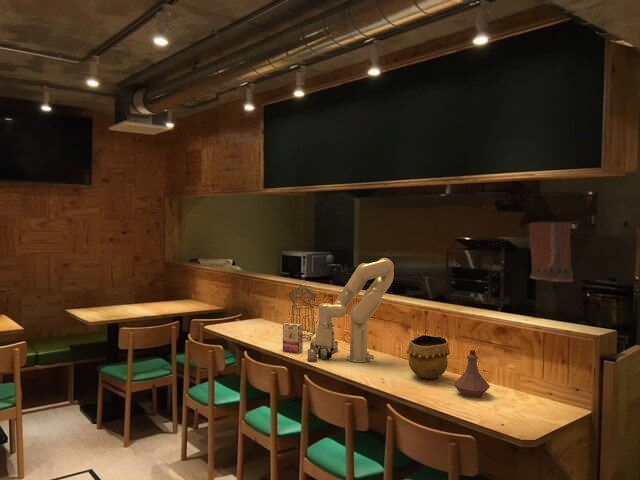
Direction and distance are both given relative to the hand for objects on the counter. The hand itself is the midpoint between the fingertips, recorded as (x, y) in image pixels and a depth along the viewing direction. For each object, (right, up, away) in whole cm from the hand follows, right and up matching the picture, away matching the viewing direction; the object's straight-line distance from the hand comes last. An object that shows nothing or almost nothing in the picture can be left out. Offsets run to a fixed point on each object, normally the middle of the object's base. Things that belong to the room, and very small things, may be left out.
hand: (324, 357), depth 294 cm
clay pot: (+51, -3, -32) cm, 60 cm away
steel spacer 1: (-7, -1, -4) cm, 8 cm away
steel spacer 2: (0, -1, 0) cm, 1 cm away
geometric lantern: (-14, +1, +45) cm, 47 cm away
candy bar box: (-19, 0, +14) cm, 24 cm away
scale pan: (0, +6, +15) cm, 16 cm away
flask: (+66, -4, -56) cm, 86 cm away
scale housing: (0, 0, +15) cm, 15 cm away
